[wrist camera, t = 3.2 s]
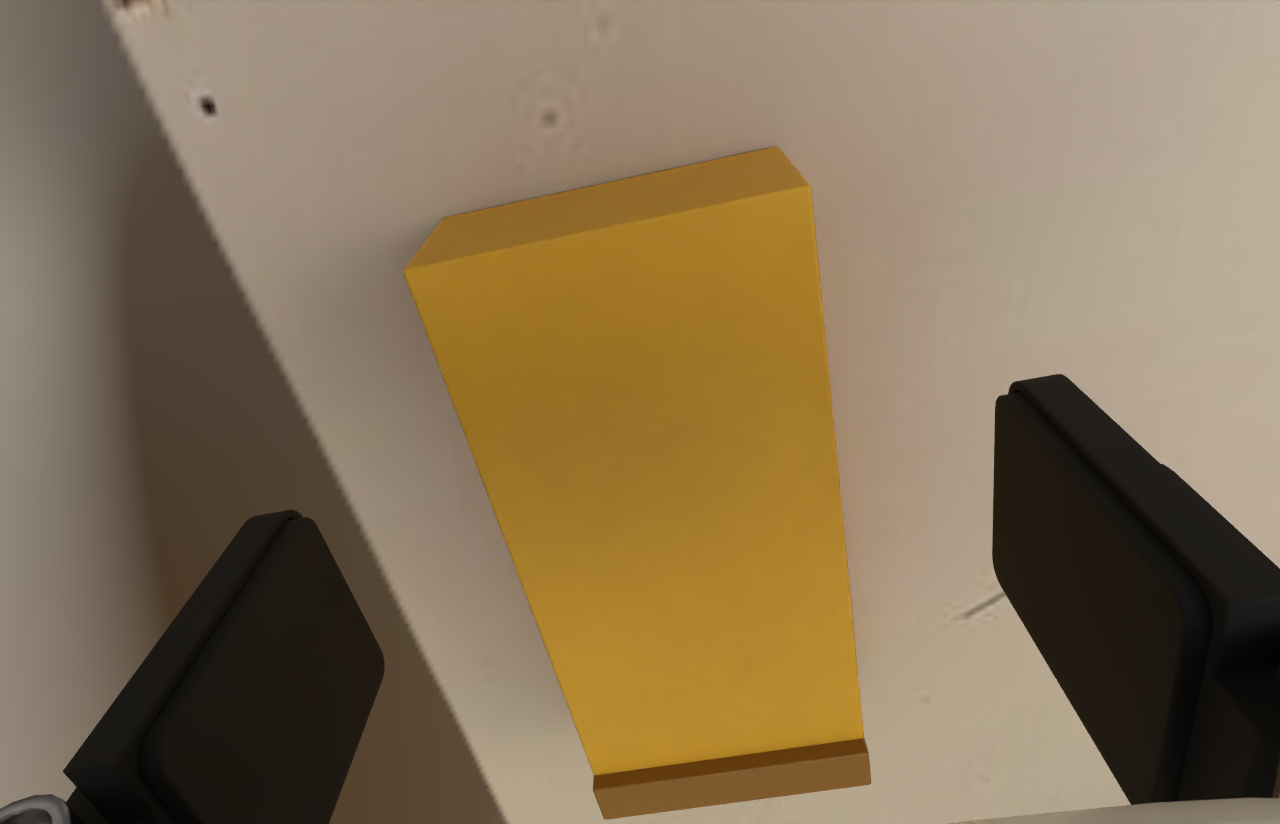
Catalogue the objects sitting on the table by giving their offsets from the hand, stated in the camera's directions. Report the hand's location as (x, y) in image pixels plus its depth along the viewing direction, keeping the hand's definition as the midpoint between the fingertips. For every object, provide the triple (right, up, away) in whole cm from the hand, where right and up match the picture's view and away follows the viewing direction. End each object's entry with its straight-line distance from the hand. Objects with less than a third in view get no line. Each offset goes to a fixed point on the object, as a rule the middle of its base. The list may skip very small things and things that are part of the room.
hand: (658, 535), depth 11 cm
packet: (+1, 0, +7) cm, 7 cm away
